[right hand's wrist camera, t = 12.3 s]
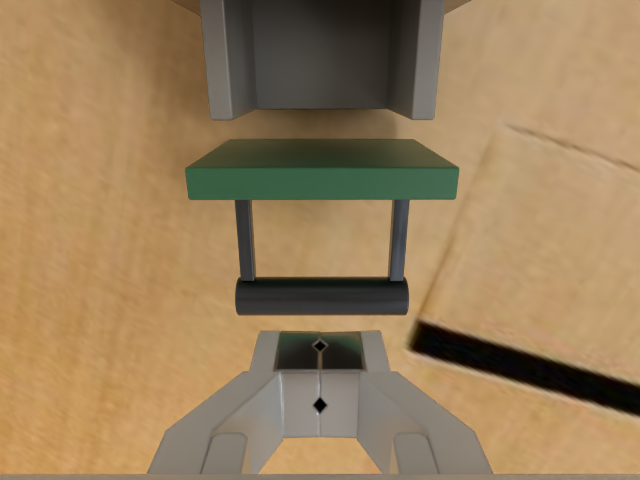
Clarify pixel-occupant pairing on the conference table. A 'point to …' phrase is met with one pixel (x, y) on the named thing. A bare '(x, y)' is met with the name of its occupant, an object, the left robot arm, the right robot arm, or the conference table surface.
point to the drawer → (322, 154)
